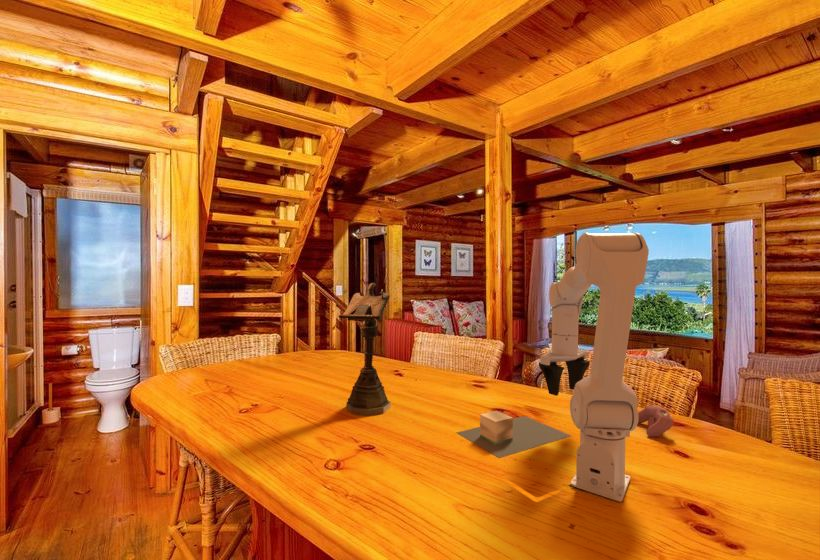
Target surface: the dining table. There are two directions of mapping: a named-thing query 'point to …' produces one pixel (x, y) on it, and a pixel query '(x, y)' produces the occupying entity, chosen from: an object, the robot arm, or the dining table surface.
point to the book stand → (367, 354)
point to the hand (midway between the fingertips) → (564, 392)
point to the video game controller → (655, 420)
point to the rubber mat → (517, 437)
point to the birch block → (496, 427)
